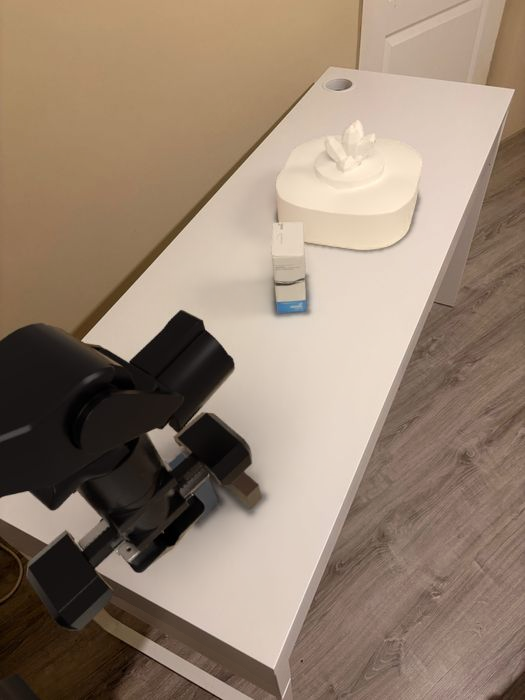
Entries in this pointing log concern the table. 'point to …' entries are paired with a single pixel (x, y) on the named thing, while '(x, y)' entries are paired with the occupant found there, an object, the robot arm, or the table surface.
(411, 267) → the table surface
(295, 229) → the ink box
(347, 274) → the table surface
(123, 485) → the robot arm
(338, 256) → the table surface
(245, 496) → the walnut rail
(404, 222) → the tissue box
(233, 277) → the table surface
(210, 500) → the slate block
